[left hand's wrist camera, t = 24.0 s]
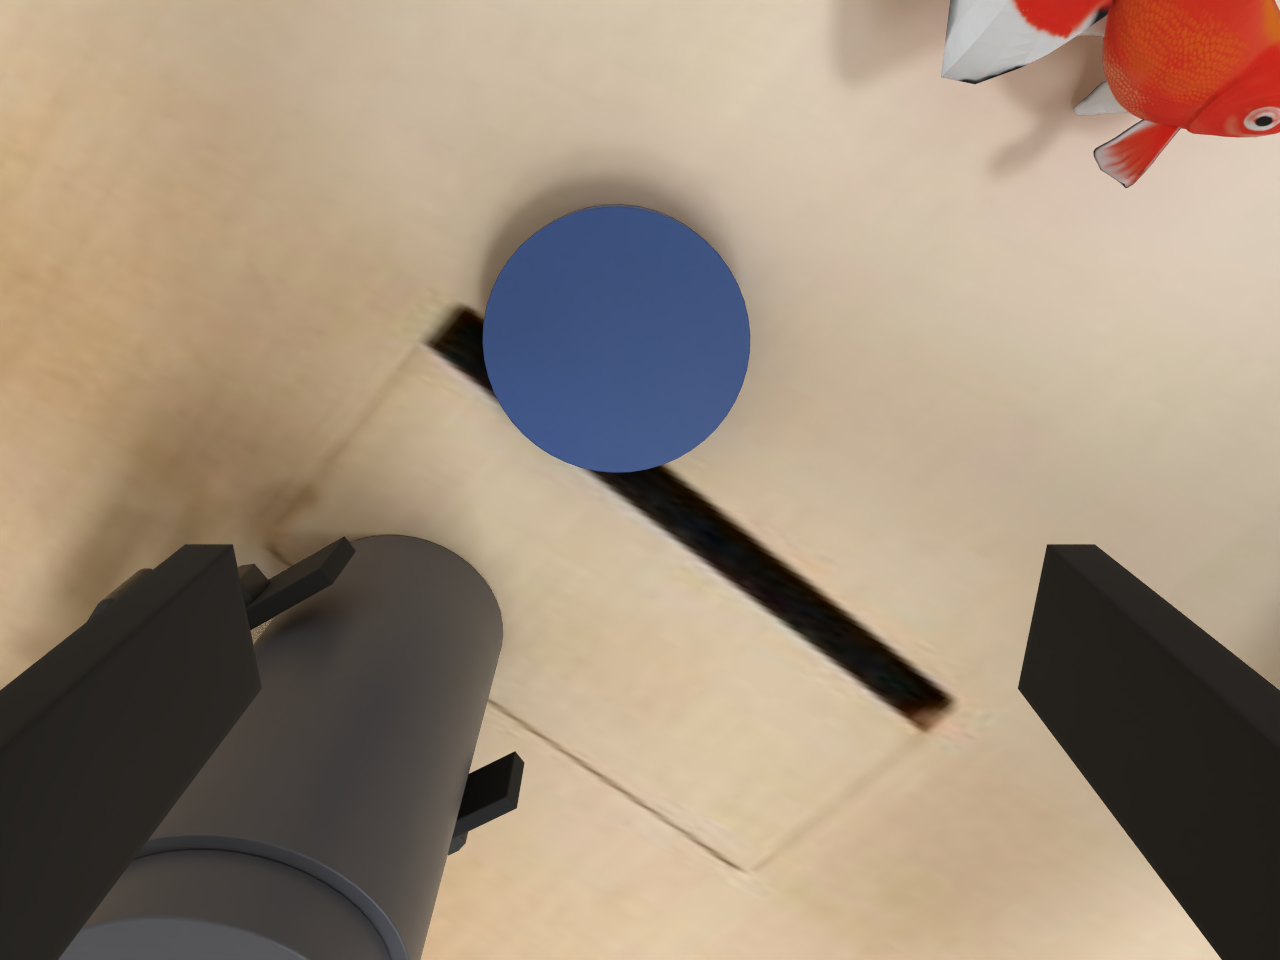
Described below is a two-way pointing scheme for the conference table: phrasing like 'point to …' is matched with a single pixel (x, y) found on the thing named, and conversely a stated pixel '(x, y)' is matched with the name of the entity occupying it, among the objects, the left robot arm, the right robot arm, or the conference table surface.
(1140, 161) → the fish
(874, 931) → the conference table surface
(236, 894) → the jar
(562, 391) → the lid
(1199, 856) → the left robot arm
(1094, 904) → the conference table surface
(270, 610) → the right robot arm
